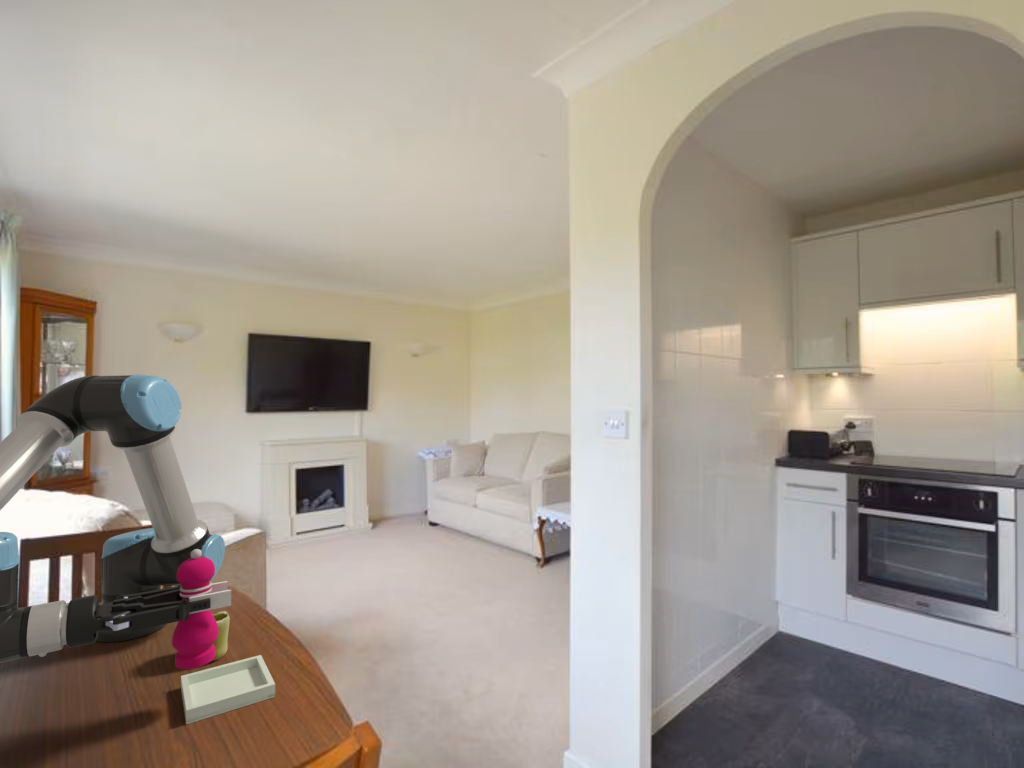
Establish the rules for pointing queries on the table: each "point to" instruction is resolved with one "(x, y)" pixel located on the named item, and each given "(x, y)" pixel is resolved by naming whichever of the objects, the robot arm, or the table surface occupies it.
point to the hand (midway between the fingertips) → (228, 592)
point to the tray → (226, 688)
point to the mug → (221, 634)
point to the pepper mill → (195, 615)
